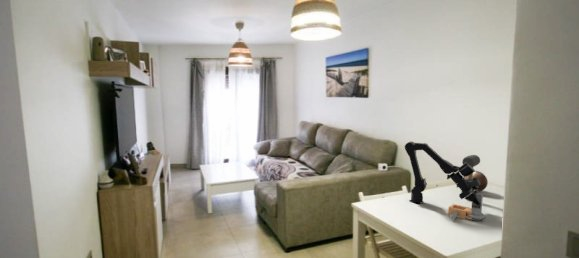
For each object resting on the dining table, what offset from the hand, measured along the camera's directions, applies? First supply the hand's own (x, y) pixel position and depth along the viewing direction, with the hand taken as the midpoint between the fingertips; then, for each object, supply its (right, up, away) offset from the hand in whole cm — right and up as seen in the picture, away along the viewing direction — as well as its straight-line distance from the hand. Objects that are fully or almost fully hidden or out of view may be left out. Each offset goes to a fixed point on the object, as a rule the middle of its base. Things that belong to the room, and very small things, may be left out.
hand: (479, 203), depth 177 cm
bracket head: (-12, -7, -5) cm, 15 cm away
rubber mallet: (+8, -4, +25) cm, 27 cm away
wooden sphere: (+23, -2, +43) cm, 49 cm away
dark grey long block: (-1, -6, +2) cm, 7 cm away
